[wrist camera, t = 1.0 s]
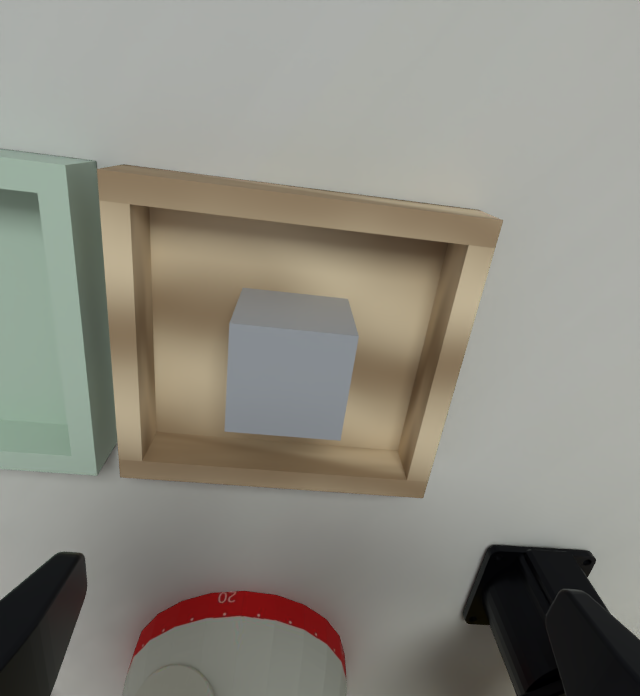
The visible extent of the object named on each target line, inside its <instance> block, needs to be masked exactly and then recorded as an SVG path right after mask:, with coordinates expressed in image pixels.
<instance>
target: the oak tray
mask: <svg viewBox="0 0 640 696" xmlns="http://www.w3.org/2000/svg"><path fill="white" fill-rule="evenodd" d="M97 178H98V191H99V204H100V217H101V230H102V244H103V257H104V270H105V283H106V297H107V310H108V323H109V336H110V349H111V363H112V376H113V389H114V402H115V415H116V429H117V442H118V455H119V468H120V477H123V478H138V479H152V480H167V481H181V482H196V483H210V484H225V485H239V486H254V487H268V488H283V489H297V490H312V491H326V492H341V493H355V494H370V495H385V496H399V497H414V498H423V497H424V493H425V490H426V486H427V483H428V479H429V476H430V473H431V469H432V466H433V462H434V459H435V455H436V452H437V448H438V445H439V441H440V438H441V434H442V431H443V427H444V424H445V420H446V417H447V414H448V410H449V407H450V403H451V400H452V396H453V393H454V389H455V386H456V382H457V379H458V375H459V372H460V368H461V365H462V361H463V358H464V355H465V351H466V348H467V344H468V341H469V337H470V334H471V330H472V327H473V323H474V320H475V316H476V313H477V309H478V306H479V302H480V299H481V296H482V292H483V289H484V285H485V282H486V278H487V275H488V271H489V268H490V264H491V261H492V257H493V254H494V250H495V247H496V243H497V240H498V237H499V233H500V230H501V226H502V223H503V220H501V219H498V218H496V217H494V216H491V215H489V214H487V213H484V212H482V211H480V210H475V209H467V208H459V207H452V206H444V205H436V204H428V203H420V202H413V201H405V200H397V199H389V198H381V197H373V196H366V195H358V194H350V193H342V192H334V191H327V190H319V189H311V188H303V187H295V186H288V185H280V184H272V183H264V182H256V181H249V180H241V179H233V178H225V177H217V176H210V175H202V174H194V173H186V172H178V171H171V170H163V169H155V168H147V167H139V166H131V165H124V164H123V165H118V166H112V167H106V168H100V169H97ZM242 288H252V289H261V290H270V291H280V292H289V293H298V294H308V295H317V296H326V297H336V298H345V299H348V301H349V304H350V307H351V311H352V314H353V318H354V321H355V325H356V328H357V332H358V335H359V338H358V344H357V350H356V355H355V361H354V367H353V372H352V378H351V384H350V389H349V395H348V401H347V406H346V412H345V418H344V423H343V429H342V435H341V440H340V441H337V440H325V439H312V438H299V437H287V436H274V435H262V434H249V433H236V432H225V410H226V387H227V365H228V343H229V323H230V320H231V318H232V315H233V312H234V310H235V307H236V304H237V302H238V299H239V296H240V293H241V291H242Z"/></svg>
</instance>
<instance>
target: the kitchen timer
mask: <svg viewBox="0 0 640 696" xmlns="http://www.w3.org/2000/svg"><path fill="white" fill-rule="evenodd" d="M123 696H346V668H345V656H344V651H343V647H342V644H341V640H340V636H339V635H338V634H337V632H336V631H335V630H334V629H333V627H332V626H331V625H330V623H329V622H328V621H327V620H326V619H325V618H324V617H322V616H321V615H319V614H318V613H316V612H314V611H313V610H311V609H310V608H308V607H307V606H305V605H303V604H301V603H298V602H295V601H292V600H289V599H286V598H283V597H280V596H277V595H272V594H264V593H256V592H249V591H235V592H220V593H210V594H206V595H203V596H199V597H195V598H192V599H188V600H184V601H181V602H179V603H178V604H176V605H174V606H172V607H170V608H168V609H167V610H165V611H163V612H161V613H159V614H158V615H157V616H156V617H155V618H154V619H153V620H152V621H151V622H150V623H149V624H148V625H147V626H146V627H145V628H144V629H143V630H142V632H141V635H140V637H139V640H138V643H137V646H136V648H135V651H134V654H133V657H132V660H131V664H130V667H129V670H128V673H127V676H126V680H125V685H124V690H123Z"/></svg>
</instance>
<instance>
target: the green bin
mask: <svg viewBox="0 0 640 696" xmlns="http://www.w3.org/2000/svg"><path fill="white" fill-rule="evenodd" d="M116 443H117V429H116V416H115V403H114V390H113V376H112V363H111V350H110V337H109V324H108V310H107V297H106V284H105V271H104V258H103V244H102V231H101V218H100V205H99V191H98V178H97V165H96V161H92V160H85V159H77V158H69V157H61V156H53V155H46V154H38V153H30V152H22V151H14V150H7V149H0V469H7V470H21V471H36V472H50V473H65V474H79V475H94V476H97V475H98V473H99V472H100V470H101V468H102V467H103V465H104V463H105V462H106V460H107V458H108V457H109V455H110V453H111V452H112V450H113V448H114V446H115V445H116Z"/></svg>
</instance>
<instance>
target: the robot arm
mask: <svg viewBox="0 0 640 696" xmlns="http://www.w3.org/2000/svg"><path fill="white" fill-rule="evenodd" d="M595 562H596V559H595V557H594V556H593V555H592V553H591V552H590V551H583V550H566V549H549V548H533V547H516V546H500V545H497V546H492V547H491V548H489V549H488V551H487V553H486V556H485V558H484V561H483V563H482V566H481V568H480V571H479V574H478V576H477V579H476V581H475V584H474V586H473V589H472V591H471V594H470V597H469V599H468V602H467V604H466V607H465V609H464V612H463V616H464V619H465V621H466V623H468V624H479V625H490V627H491V630H492V632H493V635H494V637H495V640H496V643H497V645H498V648H499V650H500V653H501V656H502V658H503V661H504V663H505V666H506V669H507V671H508V674H509V676H510V679H511V682H512V684H513V687H514V689H515V692H516V694H517V696H640V640H639V639H638V638H637V637H636V636H635V635H634V634H633V633H631V632H630V631H629V630H628V629H627V628H626V627H625V626H624V625H622V624H621V623H620V622H619V621H618V620H617V619H616V618H614V617H613V616H612V615H611V614H610V612H609V611H608V609H607V608H606V606H605V604H604V603H603V601H602V600H601V598H600V597H599V595H598V594H597V592H596V591H595V589H594V587H593V586H592V584H591V583H590V581H589V580H588V578H587V577H588V576H589V574H590V572H591V570H592V568H593V566H594V564H595ZM86 591H87V575H86V564H85V557H84V555H83V554H82V553H76V552H59V553H57V554H55V555H54V556H53V557H52V558H50V559H49V560H48V561H47V562H46V563H44V564H43V565H42V566H41V567H40V568H38V569H37V570H36V571H35V572H34V573H33V574H31V575H30V576H29V577H28V578H27V579H25V580H24V581H23V582H22V583H21V584H19V585H18V586H17V587H16V588H15V589H13V590H12V591H11V592H10V593H9V594H7V595H6V596H5V597H4V598H3V599H1V600H0V696H50V695H51V692H52V690H53V687H54V684H55V681H56V679H57V676H58V673H59V670H60V667H61V665H62V662H63V659H64V656H65V653H66V650H67V647H68V645H69V642H70V639H71V636H72V633H73V630H74V627H75V625H76V622H77V619H78V616H79V613H80V610H81V608H82V605H83V602H84V599H85V595H86Z"/></svg>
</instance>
